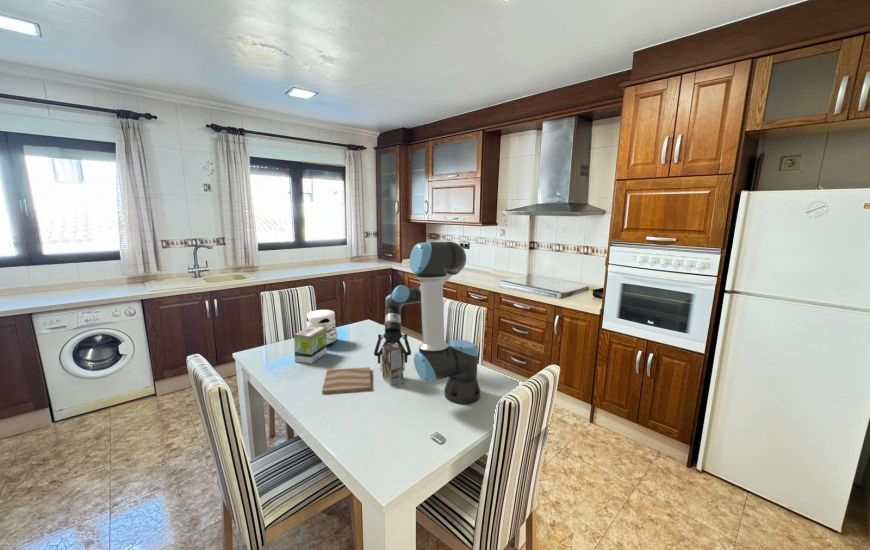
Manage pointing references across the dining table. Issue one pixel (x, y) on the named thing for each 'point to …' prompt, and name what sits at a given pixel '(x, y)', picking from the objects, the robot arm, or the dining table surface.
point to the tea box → (310, 344)
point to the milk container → (324, 323)
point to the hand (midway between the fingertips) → (392, 369)
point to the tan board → (347, 380)
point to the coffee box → (392, 363)
